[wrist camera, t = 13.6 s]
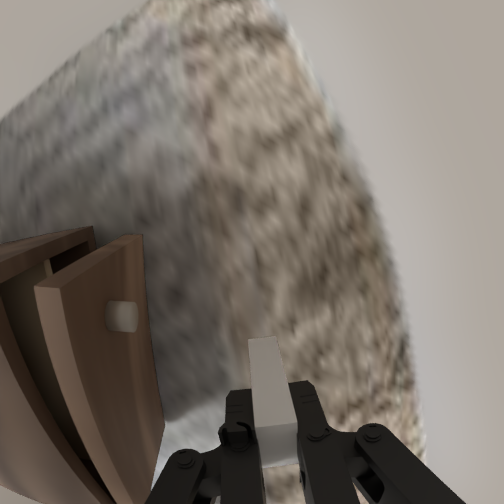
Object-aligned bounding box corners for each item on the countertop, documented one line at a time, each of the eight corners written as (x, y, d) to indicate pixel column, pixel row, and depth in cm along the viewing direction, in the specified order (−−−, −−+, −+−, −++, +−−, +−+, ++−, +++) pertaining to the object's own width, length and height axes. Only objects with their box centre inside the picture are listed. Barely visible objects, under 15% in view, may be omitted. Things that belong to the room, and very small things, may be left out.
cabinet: (26, 408, 22) (-20, 474, 11) (-33, 251, 18) (-117, 288, 7) (149, 422, 22) (121, 525, 11) (92, 225, 18) (-23, 272, 7)
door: (153, 428, 22) (129, 521, 12) (125, 234, 18) (33, 286, 8) (179, 431, 22) (164, 528, 12) (160, 234, 18) (89, 290, 8)
